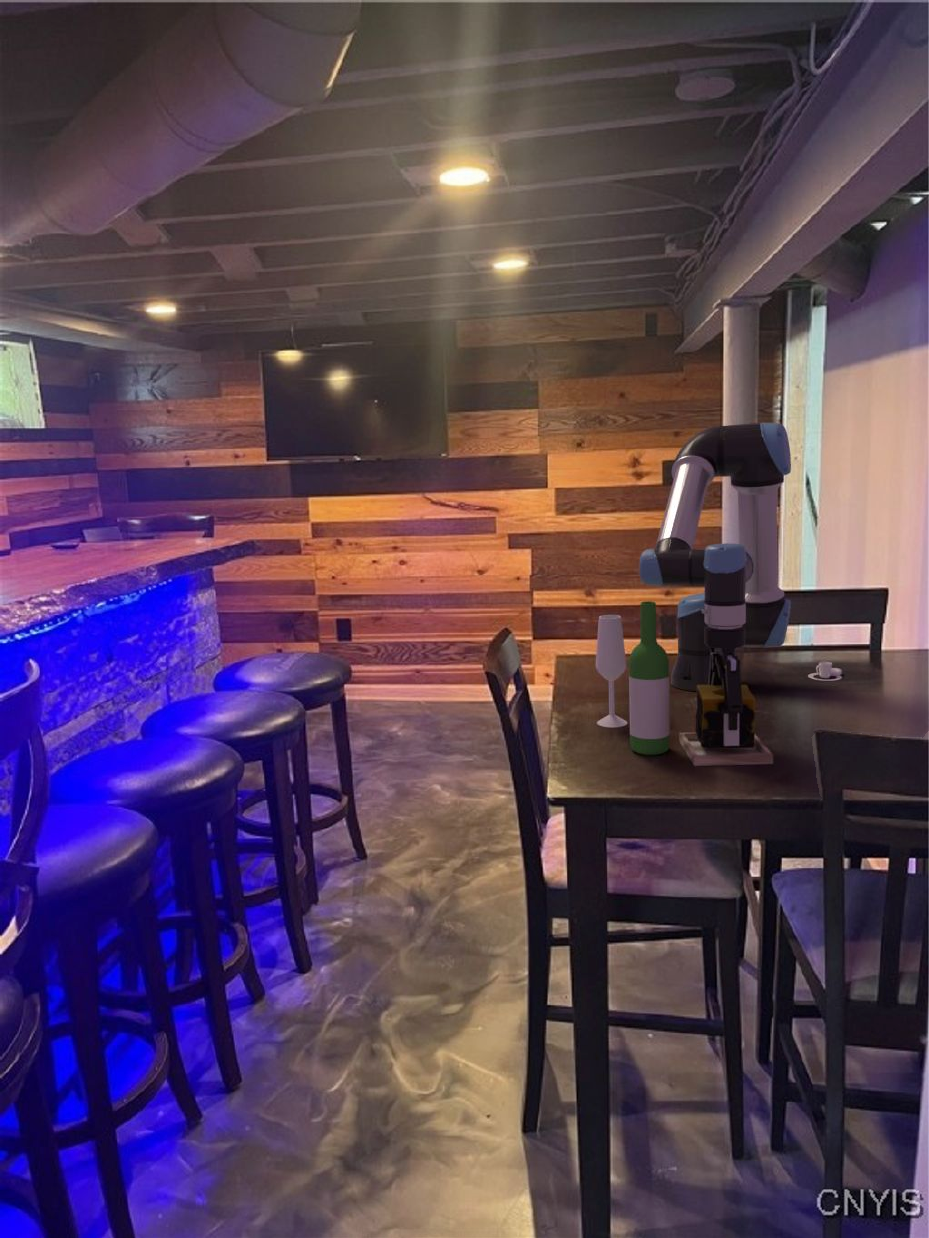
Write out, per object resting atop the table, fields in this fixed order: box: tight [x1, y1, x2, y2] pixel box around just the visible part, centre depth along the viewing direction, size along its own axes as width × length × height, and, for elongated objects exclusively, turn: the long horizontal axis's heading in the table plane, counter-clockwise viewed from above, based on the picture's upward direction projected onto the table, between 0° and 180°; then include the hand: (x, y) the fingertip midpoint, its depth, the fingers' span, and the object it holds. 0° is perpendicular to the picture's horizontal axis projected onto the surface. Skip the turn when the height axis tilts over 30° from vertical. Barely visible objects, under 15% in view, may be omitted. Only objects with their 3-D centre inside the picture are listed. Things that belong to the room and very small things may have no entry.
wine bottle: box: [628, 601, 671, 756], centre depth 167 cm, size 8×8×30 cm
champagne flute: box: [595, 614, 628, 728], centre depth 186 cm, size 7×7×24 cm
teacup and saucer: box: [807, 661, 843, 682], centre depth 217 cm, size 9×8×4 cm
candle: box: [694, 684, 756, 748], centre depth 165 cm, size 10×10×10 cm
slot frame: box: [678, 731, 774, 767], centre depth 166 cm, size 15×15×2 cm
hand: (724, 735), depth 166 cm, fingers closed on candle, 10 cm apart
